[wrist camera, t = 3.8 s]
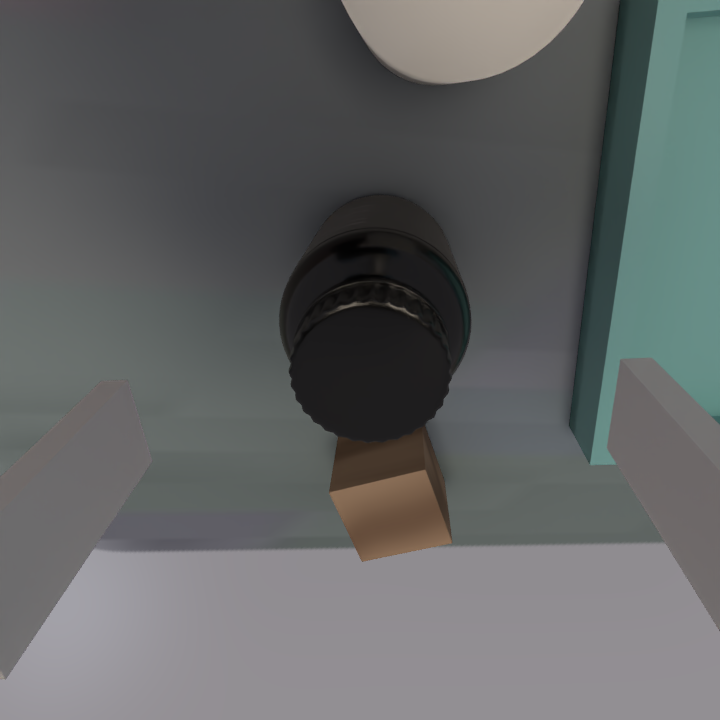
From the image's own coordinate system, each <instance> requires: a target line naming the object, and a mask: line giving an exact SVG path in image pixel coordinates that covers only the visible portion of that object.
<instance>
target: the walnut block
mask: <svg viewBox="0 0 720 720" xmlns="http://www.w3.org/2000/svg"><path fill="white" fill-rule="evenodd" d="M329 494H330V496H331V498H332V500H333V502H334V504H335V506H336V508H337V510H338V512H339V514H340V517H341V519H342V521H343V523H344V525H345V527H346V529H347V531H348V533H349V535H350V538H351V540H352V542H353V544H354V546H355V548H356V550H357V552H358V554H359V556H360V559H361V561H362V562H363V561H368V560H372V559H377V558H382V557H387V556H392V555H397V554H402V553H406V552H411V551H416V550H421V549H426V548H431V547H436V546H440V545H445V544H450V543H452V536H451V528H450V520H449V512H448V505H447V497H446V489H445V481H444V478H443V475H442V473H441V470H440V467H439V464H438V461H437V458H436V456H435V453H434V450H433V447H432V444H431V441H430V439H429V436H428V433H427V430H426V427H425V425H424V427H422V428H418V429H416V430H415V431H414V432H413V433H412V434H411V435H404V436H402V437H401V438H399V439H398V440H388V441H386V442H383V443H381V442H371V443H365V442H363V441H351V440H350V439H348V438H343V437H338V441H337V447H336V453H335V459H334V465H333V471H332V478H331V484H330V490H329Z"/></svg>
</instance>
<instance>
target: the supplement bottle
mask: <svg viewBox="0 0 720 720" xmlns="http://www.w3.org/2000/svg"><path fill="white" fill-rule="evenodd" d="M279 326H280V335H281V339H282V343H283V347H284V350H285V352H286V354H287V357H288V359H289V361H290V363H291V365H290V368H289V374H290V376H291V378H292V380H291V387H292V389H293V390H294V391H295V393H296V394H295V396H296V400H297V401H298V402H299V403H300V404H301V405H302V408H303V411H304V412H305V413H306V414H308V415H310V416H311V418H312V420H313V421H314V422H315V423H317V424H320V425H321V426H322V427H323V428H324V429H325V430H326V431H329V432H333V433H335V434H336V435H337V436H338V437H343V438H348V439H350V440H351V441H363V442H365V443H371V442H381V443H383V442H386V441H388V440H398V439H399V438H401V437H402V436H404V435H411V434H412V433H413V432H414V431H415V430H416V429H418V428H422V427H424V425H425V424H426V422H427V421H428V420H430V419H432V418H434V416H435V414H436V411H437V410H438V409H439V408H441V407H442V406H443V399H444V398H445V397H446V395H447V394H448V393H449V386H448V384H449V383H450V381H451V379H452V375H453V374H454V373H455V371H456V370H457V368H458V367H459V365H460V363H461V361H462V359H463V357H464V355H465V352H466V350H467V347H468V343H469V339H470V333H471V311H470V304H469V299H468V295H467V292H466V289H465V286H464V283H463V281H462V278H461V275H460V273H459V270H458V268H457V265H456V262H455V260H454V257H453V254H452V252H451V249H450V246H449V244H448V241H447V239H446V237H445V235H444V233H443V231H442V229H441V228H440V226H439V225H438V223H437V222H436V221H435V220H434V218H433V217H432V216H431V215H430V214H429V213H427V212H426V211H425V210H424V209H423V208H421V207H420V206H418V205H417V204H415V203H413V202H411V201H408V200H406V199H403V198H400V197H396V196H391V195H371V196H366V197H361V198H358V199H355V200H353V201H351V202H349V203H347V204H345V205H343V206H342V207H340V208H339V209H338V210H336V211H335V212H334V213H333V214H332V215H331V216H330V217H329V218H328V219H327V220H326V221H325V222H324V224H323V225H322V226H321V228H320V229H319V231H318V232H317V234H316V235H315V237H314V239H313V240H312V242H311V243H310V245H309V247H308V248H307V250H306V252H305V253H304V255H303V256H302V258H301V260H300V261H299V263H298V265H297V266H296V268H295V270H294V271H293V273H292V275H291V276H290V279H289V281H288V283H287V285H286V288H285V290H284V293H283V297H282V300H281V305H280V313H279Z"/></svg>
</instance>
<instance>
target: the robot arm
mask: <svg viewBox="0 0 720 720" xmlns="http://www.w3.org/2000/svg"><path fill="white" fill-rule="evenodd" d="M607 449H608V451H609V453H610V454H611V456H612V457H613V459H614V461H615V462H616V464H617V466H618V467H619V469H620V470H621V472H622V474H623V475H624V477H625V478H626V480H627V482H628V483H629V485H630V487H631V488H632V490H633V491H634V493H635V495H636V496H637V498H638V500H639V501H640V503H641V504H642V506H643V508H644V509H645V511H646V512H647V514H648V516H649V517H650V519H651V521H652V522H653V524H654V525H655V527H656V529H657V530H658V532H659V534H660V535H661V537H662V538H663V540H664V542H665V543H666V545H667V546H668V548H669V550H670V551H671V553H672V555H673V556H674V558H675V559H676V561H677V563H678V564H679V566H680V567H681V569H682V570H683V572H684V574H685V576H686V577H687V579H688V580H689V582H690V584H691V585H692V587H693V589H694V590H695V592H696V593H697V595H698V597H699V598H700V600H701V601H702V603H703V605H704V606H705V608H706V610H707V611H708V613H709V614H710V616H711V618H712V619H713V621H714V622H715V624H716V626H717V627H718V629H719V631H720V424H719V423H717V422H716V421H715V420H714V419H713V418H712V417H711V416H710V415H709V414H708V413H707V412H706V411H705V410H704V409H703V408H702V407H701V406H700V405H699V404H698V403H697V402H696V401H695V400H694V399H693V398H692V397H691V396H690V395H689V394H688V393H687V392H686V391H685V390H684V389H683V388H682V387H681V386H680V385H679V384H678V383H677V382H676V381H675V380H674V379H673V378H672V377H671V376H670V375H669V374H668V373H667V372H666V371H665V370H664V369H663V368H662V367H661V366H660V365H659V364H658V363H657V362H656V361H655V360H654V359H653V358H631V359H620V365H619V372H618V378H617V384H616V391H615V397H614V404H613V410H612V417H611V423H610V430H609V436H608V443H607ZM151 463H152V458H151V454H150V451H149V448H148V445H147V441H146V438H145V435H144V431H143V428H142V425H141V422H140V418H139V415H138V412H137V408H136V405H135V402H134V399H133V395H132V392H131V389H130V386H129V382H128V380H113V381H101V382H100V383H99V384H98V385H97V386H96V387H95V388H93V389H92V390H91V391H90V392H89V393H88V394H87V395H86V396H85V397H84V398H83V399H82V400H81V401H80V402H79V403H78V404H77V405H76V406H75V407H74V408H72V409H71V410H70V411H69V412H68V413H67V414H66V415H65V416H64V417H63V418H62V419H61V420H60V421H59V422H58V423H57V424H56V425H55V426H54V427H53V428H51V429H50V430H49V431H48V432H47V433H46V434H45V435H44V436H43V437H42V438H41V439H40V440H39V441H38V442H37V443H36V444H35V445H34V446H33V447H32V448H31V449H29V450H28V451H27V452H26V453H25V454H24V455H23V456H22V457H21V458H20V459H19V460H18V461H17V462H16V463H15V464H14V465H13V466H12V467H11V468H10V469H8V470H7V471H6V472H5V473H4V474H3V475H2V476H1V477H0V679H6V678H7V677H8V675H9V674H10V672H11V671H12V669H13V668H14V666H15V665H16V663H17V662H18V660H19V659H20V657H21V656H22V654H23V653H24V651H25V650H26V648H27V647H28V646H29V644H30V643H31V641H32V640H33V638H34V636H35V635H36V634H37V632H38V631H39V629H40V628H41V626H42V625H43V623H44V622H45V620H46V619H47V617H48V616H49V614H50V613H51V611H52V610H53V608H54V607H55V605H56V604H57V602H58V601H59V599H60V598H61V596H62V595H63V593H64V592H65V591H66V589H67V588H68V586H69V584H70V583H71V581H72V580H73V579H74V577H75V576H76V574H77V573H78V571H79V570H80V568H81V567H82V565H83V564H84V562H85V560H86V559H87V558H88V556H89V555H90V553H91V552H92V550H93V549H94V547H95V546H96V544H97V543H98V541H99V540H100V538H101V537H102V535H103V534H104V533H105V531H106V530H107V528H108V527H109V525H110V524H111V522H112V521H113V519H114V518H115V516H116V515H117V513H118V512H119V510H120V509H121V507H122V506H123V504H124V503H125V501H126V500H127V498H128V497H129V495H130V494H131V492H132V491H133V489H134V488H135V486H136V485H137V483H138V482H139V480H140V479H141V477H142V476H143V475H144V473H145V472H146V470H147V469H148V467H149V466H150V464H151Z"/></svg>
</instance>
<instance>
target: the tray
mask: <svg viewBox="0 0 720 720" xmlns="http://www.w3.org/2000/svg"><path fill="white" fill-rule="evenodd" d="M631 358H653V359H654V360H655V361H656V362H657V363H658V364H659V365H660V366H661V367H662V368H663V369H664V370H665V371H666V372H667V373H668V374H669V375H670V376H671V377H672V378H673V379H674V380H675V381H676V382H677V383H678V384H679V385H680V386H681V387H682V388H683V389H684V390H685V391H686V392H687V393H688V394H689V395H690V396H691V397H692V398H693V399H694V400H695V401H696V402H697V403H698V404H699V405H700V406H701V407H702V408H703V409H704V410H705V411H706V412H707V413H708V414H709V415H710V416H711V417H712V418H713V419H714V420H715V421H716V422H717V423H719V424H720V0H620V8H619V16H618V25H617V33H616V41H615V50H614V58H613V66H612V75H611V83H610V91H609V99H608V108H607V116H606V124H605V133H604V141H603V149H602V158H601V166H600V174H599V182H598V191H597V199H596V207H595V216H594V224H593V232H592V241H591V249H590V257H589V265H588V274H587V282H586V290H585V299H584V307H583V315H582V324H581V332H580V340H579V348H578V357H577V365H576V373H575V382H574V390H573V398H572V407H571V415H570V423H569V426H570V428H571V430H572V432H573V434H574V436H575V438H576V440H577V441H578V443H579V445H580V447H581V449H582V451H583V453H584V455H585V457H586V459H587V460H588V462H589V464H590V465H611V464H616V462H615V461H614V459H613V457H612V456H611V454H610V453H609V451H608V449H607V443H608V436H609V430H610V423H611V417H612V410H613V404H614V397H615V391H616V384H617V378H618V372H619V365H620V359H631Z"/></svg>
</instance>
